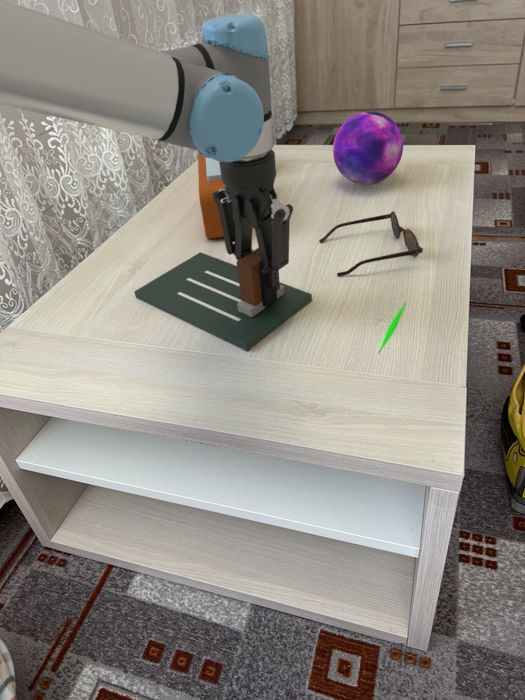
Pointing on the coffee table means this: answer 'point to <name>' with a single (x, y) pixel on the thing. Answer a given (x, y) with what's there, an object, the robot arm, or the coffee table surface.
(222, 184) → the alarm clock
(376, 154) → the decorative orb
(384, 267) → the coffee table surface
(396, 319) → the leaf
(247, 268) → the eraser
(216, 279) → the chalkboard
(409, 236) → the eyeglasses
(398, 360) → the coffee table surface
